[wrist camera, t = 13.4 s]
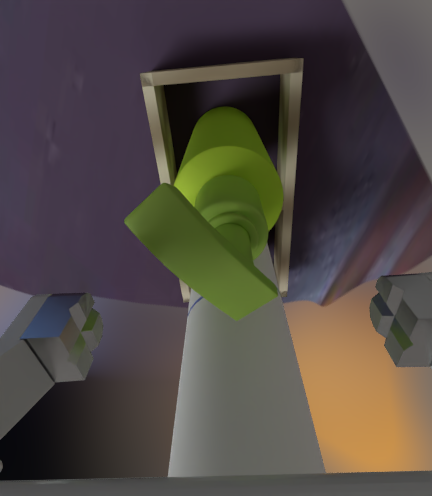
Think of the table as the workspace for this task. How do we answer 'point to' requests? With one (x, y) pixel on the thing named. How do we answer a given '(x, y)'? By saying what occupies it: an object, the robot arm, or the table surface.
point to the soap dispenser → (216, 214)
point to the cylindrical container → (242, 394)
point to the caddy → (286, 135)
